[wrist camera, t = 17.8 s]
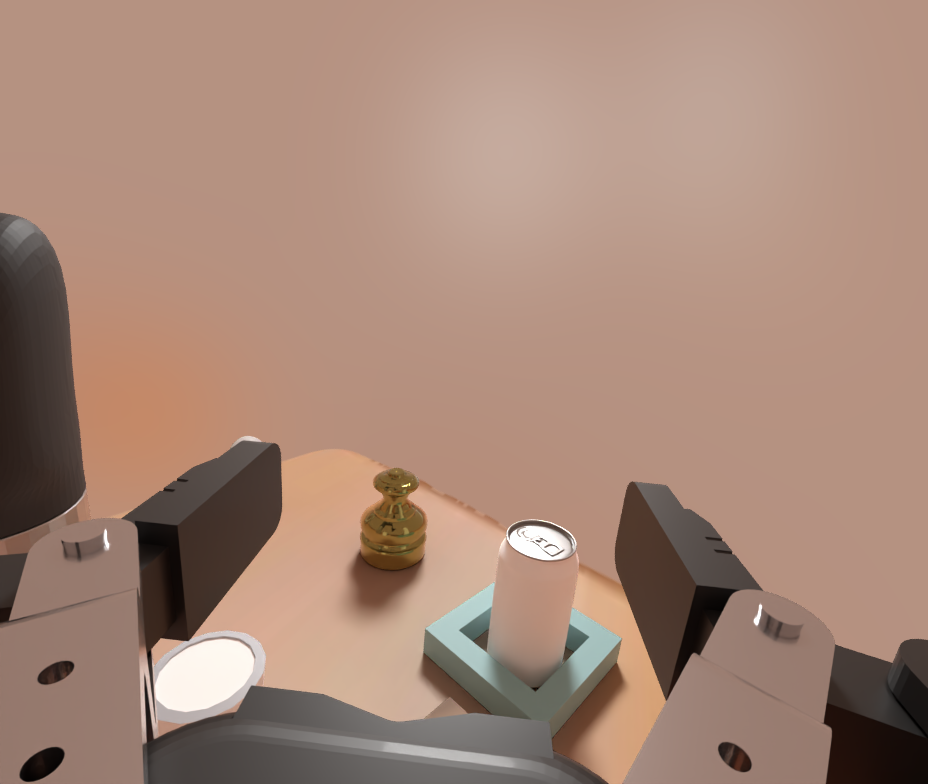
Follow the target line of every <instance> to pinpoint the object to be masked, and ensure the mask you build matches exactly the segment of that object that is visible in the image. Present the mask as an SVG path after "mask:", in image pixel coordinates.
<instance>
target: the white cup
mask: <svg viewBox="0 0 928 784" xmlns="http://www.w3.org/2000/svg"><path fill="white" fill-rule="evenodd" d="M265 661H266V654H265V652H264V650H263V648H262V646H261V644H260V642H259V641H257V640H256V639H254V638H253V637H251V636H250V635H248V634H247V633H241V632H235V631H228V630H227V631H220V632H212V633H206V634H203V635H201V636H198V637H195V638H193V639H190V640H189V641H185V642H183V643H182V644H180V645H179V646H177V647H176V648H174V649H173V650H171V651H170V652H168V653H167V654H165V655H164V656H163V657H162V658H161V659H160V660H159V661H158V662H157V664H156V665H155V666H154V677H155V692H156V706H157V721H158V736H161V735H163V734H165V733H167V732H170V731H172V730H174V729H177V728H179V727H181V726H184V725H186V724H189V723H192V722H195V721H198V720H201V719H204V718H208V717H212V716H216V715H221V714H225V713H232V712H236V711H237V710H238V708H239V706H240V704H241V703H242V701H243V699H244V697H245V695H246V694H247V692H248V690H249V688H250V687H251V685H253V686H261V687H264V674H265Z"/></svg>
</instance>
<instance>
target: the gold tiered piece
mask: <svg viewBox="0 0 928 784" xmlns="http://www.w3.org/2000/svg"><path fill="white" fill-rule="evenodd" d="M373 485H374V487H375V489H376V490H378V491H379V492H381V493H382V494H383V498H382V499H381V500H379V501H378V502H376V503H375V504H373V505H371V506H370V507H368V508H367V509H366V510H365V511H364V512H363V514H362V516H361V520H360V523H361V529H362V531H361V533H360V540H361V545H360V552H361V555H362V557H363V559H364V560H365V561H366V562H367V563H369V564H370V565H372V566H374V567H377V568H380V569H386V570H398V569H404V568H407V567H410V566H412V565H414V564H416V563H417V562H418V561H420V560H421V558H422V557H423V555H424V553H425V541H426V532H425V530H426V527H427V522H428V520H427V516H426V514H425V512H424V511H423V510H422V509H421V508H420V507H419V506H417V505H416V504H414V503H413V502H412V501H410V500H409V499H408V495H409V494H410V493H412V492H414V491H415V490H416V489H417V488H418V486H419V479H418V477H416V476H415V475H414V474H413V473H411V472H409V471H406V470H403V469H400V468H393V469H389V470H386V471H383V472H381V473H379V474H377V475H376V476H375V477H374V479H373Z"/></svg>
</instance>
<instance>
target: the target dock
mask: <svg viewBox="0 0 928 784" xmlns="http://www.w3.org/2000/svg"><path fill="white" fill-rule="evenodd" d="M494 585H495V582H494V583H492V584H491V585H489V586H488V587H486V588H485V589H484V590H482V591H481V592H479V593H478V594H476V595H475V596H473V597H472V598H470V599H469V600H467V601H466V602H464V603H463V604H461V605H460V606H458V607H457V608H455V609H454V610H452V611H451V612H449V613H448V614H446V615H445V616H443V617H442V618H440V619H439V620H437V621H436V622H434V623H433V624H431V625H430V626H428V627H427V628H425V638H424V651H423V652H424V653H425V654H426V655H427V656H428V657H429V658H430V659H431V660H433V661H434V662H435V663H436V664H437V665H438V666H439V667H440V668H441V669H443V670H444V671H445V672H446V673H447V674H448V675H449V676H450V677H451V678H453V679H454V680H455V681H456V682H457V683H458V684H459V685H460V686H461V687H463V688H464V689H465V690H466V691H467V692H468V693H469V694H470V695H471V696H473V697H474V698H475V699H476V700H477V701H478V702H479V703H480V704H481V705H483V706H484V707H485V708H486V709H487V710H488V711H489V712H490V713H491V714H493V715H496V716H504V717H512V718H520V719H529V720H537V721H545V722H550V731H551V739H552V738H553V737H554V735H555V734H556V733H557V732H558V731H559V729H560V728H561V727H562V726H563V725H564V724H565V722H566V721H567V720H568V719H569V718H570V716H571V715H572V714H573V713H574V712H575V711H576V709H577V708H578V707H579V706H580V705H581V703H582V702H583V701H584V700H585V699H586V698H587V696H588V695H589V694H590V693H591V692H592V690H593V689H594V688H595V687H596V686H597V685H598V683H599V682H600V681H601V680H602V679H603V677H604V676H605V675H606V674H607V673H608V672H609V670H610V669H611V668H612V667H613V666H614V664H615V663H616V662H617V659H618V654H619V650H620V645H621V640H622V638H620V637H619V636H617V635H615V634H614V633H612V632H611V631H609V630H607V629H606V628H604V627H603V626H601V625H600V624H598V623H596V622H595V621H593V620H592V619H590V618H588V617H587V616H585V615H584V614H582V613H580V612H579V611H577V610H576V609H574V608H572V611H571V617H570V622H569V628H568V633H567V639H566V644H565V646H566V647H567V648H568V649H570V650H571V651H573V652H574V653H573V654H572V655H571V656H570V657H569V658H568V659H567V660H566V661H565V662H564V663H563V665H562V666H561V667H560V668H559V669H558V670H557V671H556V672H555V673H554V674H553V675H552V676H551V677H550V678H549V679H548V680H547V681H546V682H545V683H544V684H543V685H542V686H541V687H540V688H539V689H538V690H537V691H536V692H535V691H534V690H533V689H531V688H530V687H529V686H528V685H526V684H525V683H524V682H523V681H521V680H520V679H519V678H518V677H516V676H515V675H514V674H513V673H511V672H510V671H509V670H508V669H506V668H505V667H504V666H503V665H501V664H500V663H499V662H498V661H496V660H495V659H494V658H493V657H491V656H490V655H489V654H488V653H486V652H485V651H484V650H483V649H481V648H480V647H479V646H478V645H476V644H475V643H474V642H473V641H474V640H475V639H476V638H477V637H479V636H480V635H481V634H483V633H484V632H485V631H487V630H488V629H489V626H490V618H491V609H492V601H493V593H494Z"/></svg>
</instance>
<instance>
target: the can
mask: <svg viewBox="0 0 928 784" xmlns="http://www.w3.org/2000/svg"><path fill="white" fill-rule="evenodd" d="M576 549H577V543H576V540H575V538H574V537H573V536H572V535H571V534H570V533H569V532H568V531H567V530H566V529H564V528H562V527H560V526H558V525H556V524H553V523H550V522H547V521H541V520H523V521H519V522H516V523H514V524H512V525H511V526H510V527H509V528H508V530H507V532H506V538H505V539H504V540H503V542H502V543H501V545H500V549H499V554H498V561H497V569H496V577H495V585H494V593H493V601H492V609H491V618H490V626H489V635H488V644H487V653H488V654H489V655H490V656H491V657H493V658H494V659H495V660H496V661H498V662H499V663H500V664H501V665H503V666H504V667H505V668H506V669H508V670H509V671H510V672H511V673H513V674H514V675H515V676H516V677H518V678H519V679H520V680H521V681H523V682H524V683H525V684H526V685H528V686H529V687H530V688H537V687H541V686H542V685H543V684H544V683H545V682H546V681H547V680H548V679H549V678H550V677H551V676H552V675H553V674H554V673H555V672H556V671H557V670H558V669H559V668H560V667H561V665H562V660H563V655H564V650H565V644H566V639H567V633H568V628H569V622H570V617H571V611H572V605H573V600H574V594H575V588H576V582H577V576H578V570H579V560H578V556H577V553H576Z"/></svg>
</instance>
